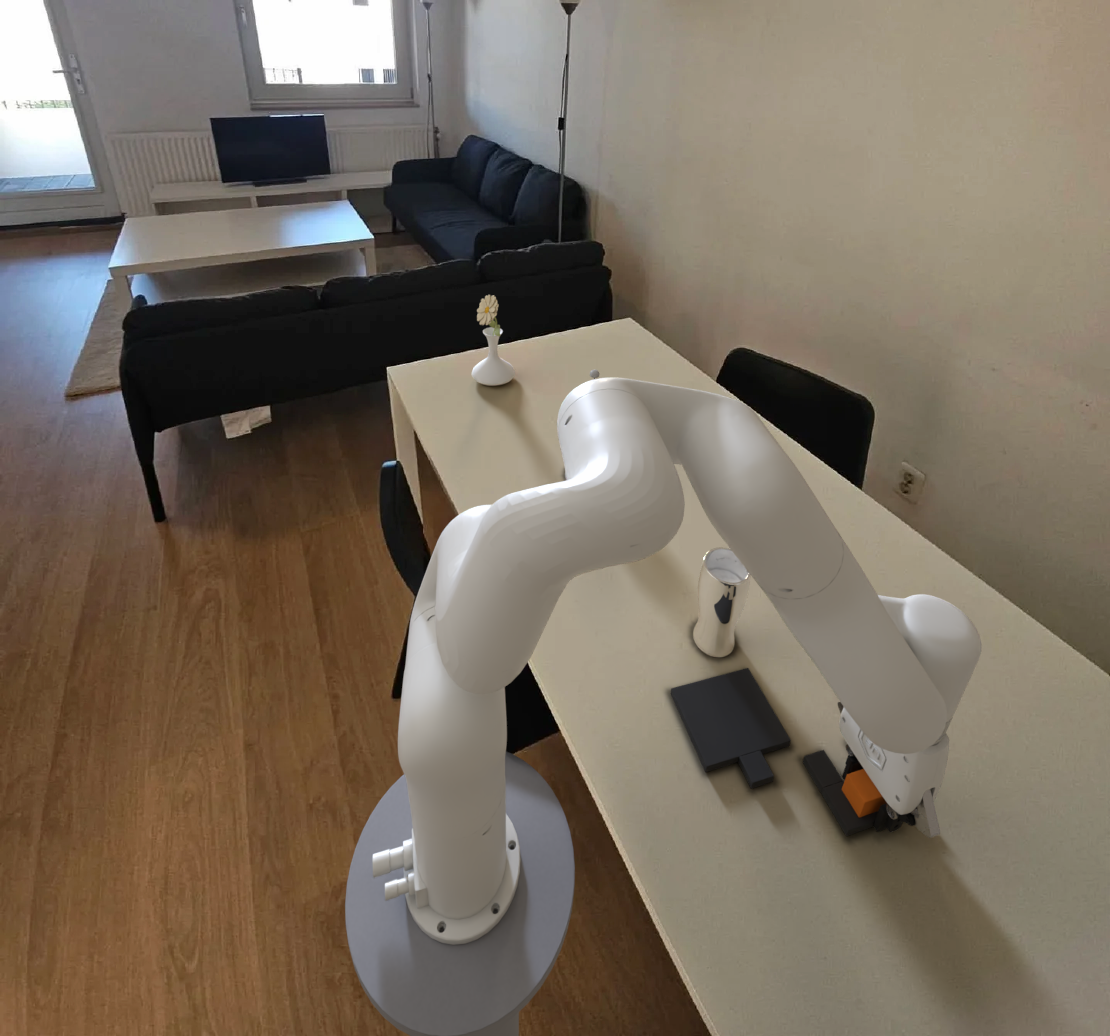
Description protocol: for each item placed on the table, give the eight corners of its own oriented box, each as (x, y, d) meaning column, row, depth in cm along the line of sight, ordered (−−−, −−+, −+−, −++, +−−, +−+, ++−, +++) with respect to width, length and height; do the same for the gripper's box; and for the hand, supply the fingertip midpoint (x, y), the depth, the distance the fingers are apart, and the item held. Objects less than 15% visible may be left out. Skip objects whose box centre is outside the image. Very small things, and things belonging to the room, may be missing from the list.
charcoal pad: (717, 800, 72) (718, 794, 71) (670, 694, 83) (671, 688, 83) (804, 771, 75) (806, 765, 74) (746, 673, 86) (748, 667, 86)
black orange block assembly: (846, 836, 69) (854, 815, 67) (802, 761, 76) (808, 740, 74) (917, 810, 71) (926, 789, 70) (868, 740, 78) (875, 719, 77)
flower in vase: (470, 368, 163) (467, 282, 153) (512, 366, 165) (512, 281, 155) (473, 395, 151) (470, 303, 141) (518, 391, 153) (519, 301, 143)
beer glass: (687, 652, 89) (700, 577, 83) (692, 613, 95) (703, 541, 89) (736, 666, 87) (752, 591, 81) (737, 625, 93) (753, 552, 87)
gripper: (827, 637, 71) (798, 735, 78) (947, 798, 56) (897, 901, 63) (879, 623, 73) (846, 720, 80) (1009, 775, 58) (954, 877, 65)
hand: (869, 799), depth 72 cm, fingers closed on black orange block assembly, 4 cm apart
